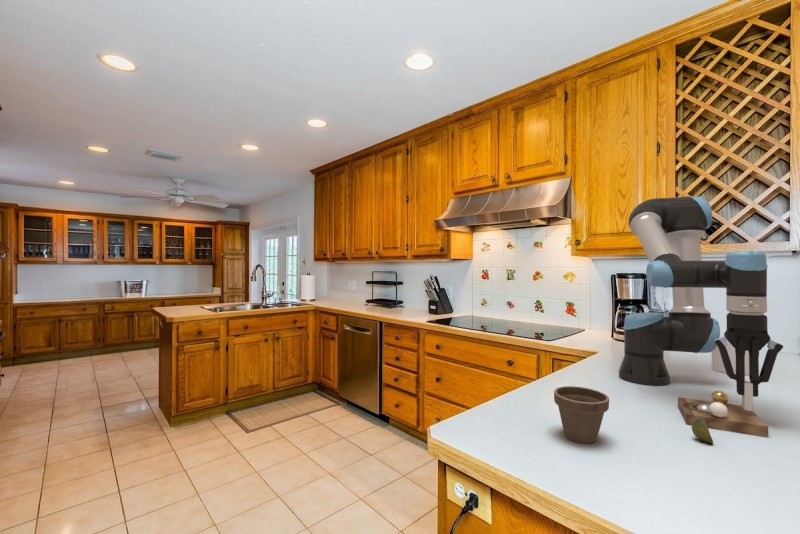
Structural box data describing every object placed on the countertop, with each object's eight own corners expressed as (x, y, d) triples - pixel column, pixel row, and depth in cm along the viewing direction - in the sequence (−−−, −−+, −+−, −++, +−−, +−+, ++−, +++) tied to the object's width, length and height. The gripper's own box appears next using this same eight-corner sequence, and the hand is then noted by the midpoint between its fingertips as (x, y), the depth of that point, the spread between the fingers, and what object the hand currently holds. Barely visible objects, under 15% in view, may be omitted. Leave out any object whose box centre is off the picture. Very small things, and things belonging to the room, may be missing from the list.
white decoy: (711, 418, 92) (710, 403, 92) (707, 413, 95) (707, 399, 95) (729, 420, 90) (729, 405, 90) (725, 415, 93) (725, 401, 93)
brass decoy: (713, 405, 101) (713, 391, 101) (710, 401, 104) (710, 388, 104) (730, 407, 99) (730, 394, 99) (726, 403, 102) (726, 390, 102)
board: (686, 424, 94) (686, 414, 94) (677, 406, 107) (677, 397, 108) (768, 437, 87) (768, 426, 87) (747, 415, 100) (747, 406, 100)
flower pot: (618, 451, 80) (617, 403, 80) (560, 447, 82) (560, 400, 82) (599, 429, 91) (599, 387, 92) (549, 426, 93) (549, 384, 93)
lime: (705, 436, 88) (704, 414, 88) (723, 446, 83) (723, 422, 83) (685, 436, 88) (685, 414, 88) (703, 446, 83) (702, 423, 83)
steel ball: (698, 403, 98) (715, 407, 96) (696, 400, 101) (713, 405, 99) (696, 416, 98) (713, 421, 96) (694, 413, 101) (711, 418, 99)
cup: (746, 377, 137) (745, 343, 137) (706, 370, 147) (706, 339, 147) (757, 372, 144) (756, 340, 144) (718, 366, 153) (718, 336, 154)
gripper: (716, 313, 95) (717, 408, 94) (788, 316, 88) (789, 418, 88) (709, 310, 101) (710, 400, 101) (776, 313, 95) (777, 408, 95)
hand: (747, 408), depth 94 cm, fingers closed
